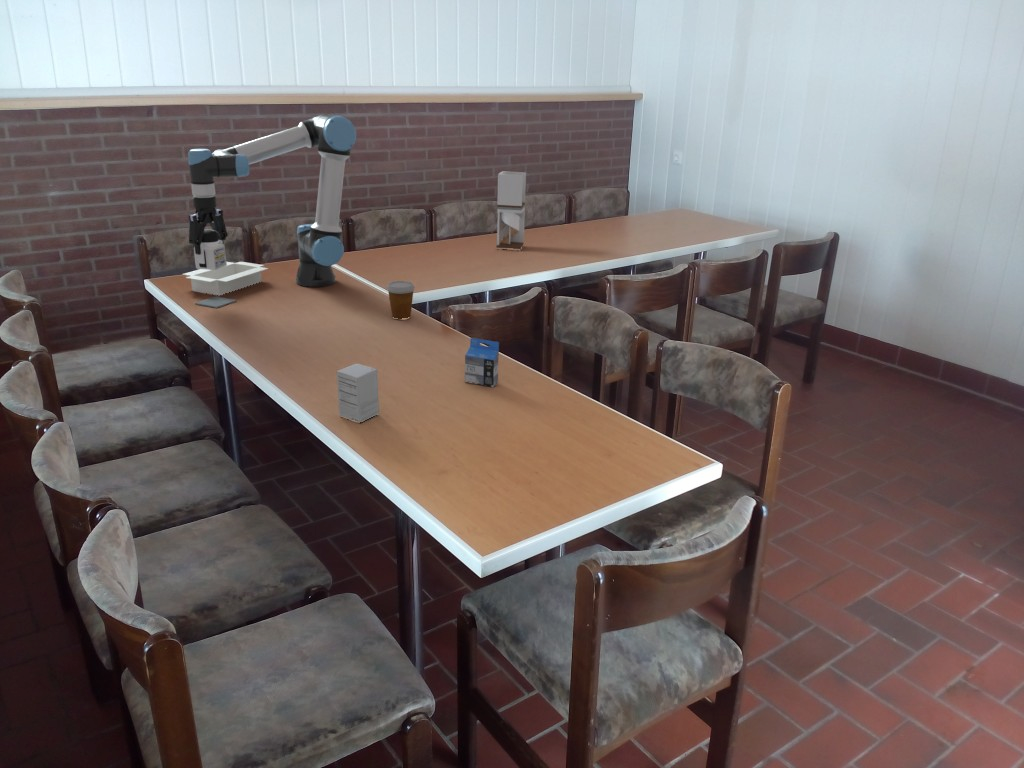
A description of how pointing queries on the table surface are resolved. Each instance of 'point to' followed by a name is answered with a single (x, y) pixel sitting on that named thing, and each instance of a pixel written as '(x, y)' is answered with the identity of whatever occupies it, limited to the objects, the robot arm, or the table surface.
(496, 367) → the label tape cartridge
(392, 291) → the disposable coffee cup
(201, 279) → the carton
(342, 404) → the grey drawer cabinet
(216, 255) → the container
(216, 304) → the mat
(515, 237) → the white hollow stand
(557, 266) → the table surface
